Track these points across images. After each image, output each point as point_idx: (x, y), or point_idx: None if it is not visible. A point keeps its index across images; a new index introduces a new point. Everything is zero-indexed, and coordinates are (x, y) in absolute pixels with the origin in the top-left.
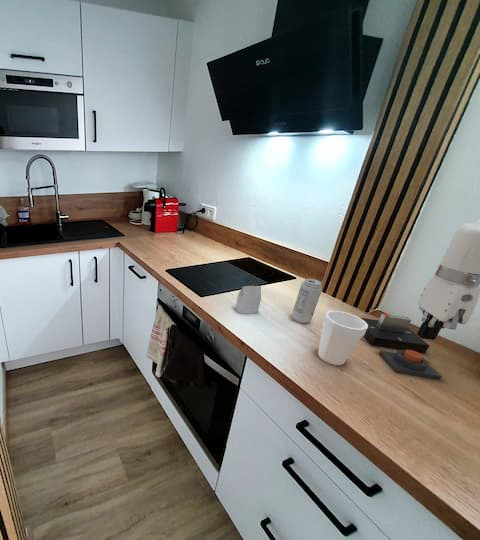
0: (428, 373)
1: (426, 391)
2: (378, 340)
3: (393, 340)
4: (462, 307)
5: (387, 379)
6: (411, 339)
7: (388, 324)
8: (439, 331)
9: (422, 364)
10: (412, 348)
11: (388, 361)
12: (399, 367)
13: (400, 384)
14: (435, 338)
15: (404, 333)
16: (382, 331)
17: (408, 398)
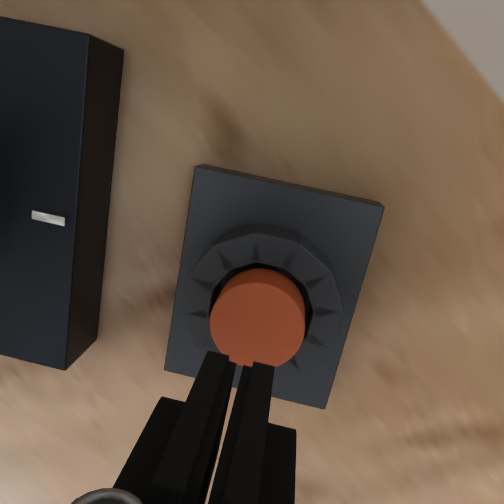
0: (359, 268)
1: (463, 360)
2: (77, 340)
3: (73, 270)
4: None
5: (374, 470)
6: (32, 122)
7: None
8: (264, 445)
9: (327, 306)
10: (105, 138)
11: None
12: (311, 390)
13: (409, 441)
14: (273, 372)
15: None
16: None
17: (499, 481)
